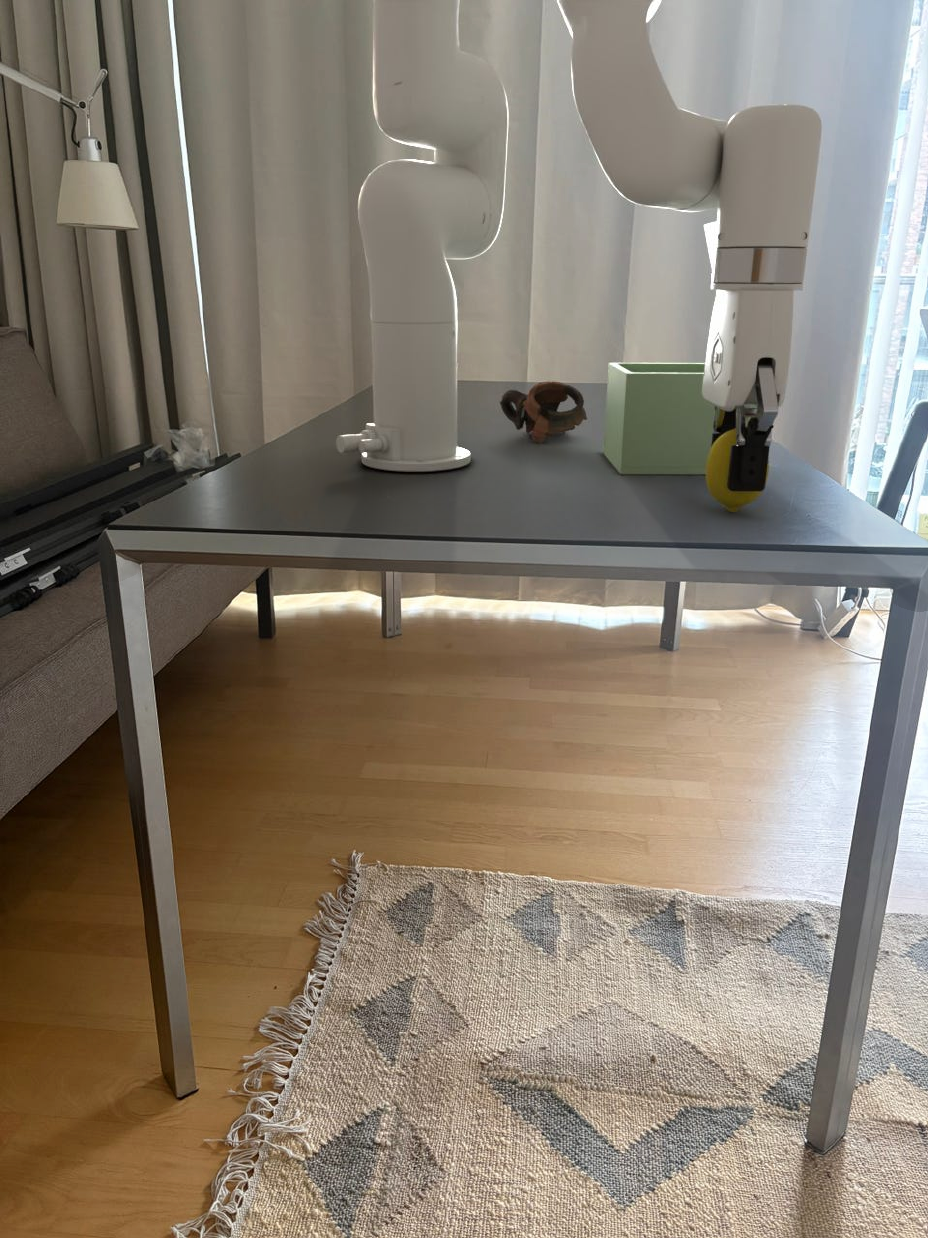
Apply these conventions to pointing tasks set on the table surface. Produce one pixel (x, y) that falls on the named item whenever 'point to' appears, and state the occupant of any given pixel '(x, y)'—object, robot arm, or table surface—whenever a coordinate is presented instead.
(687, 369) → the chest
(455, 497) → the table surface
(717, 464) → the lemon
